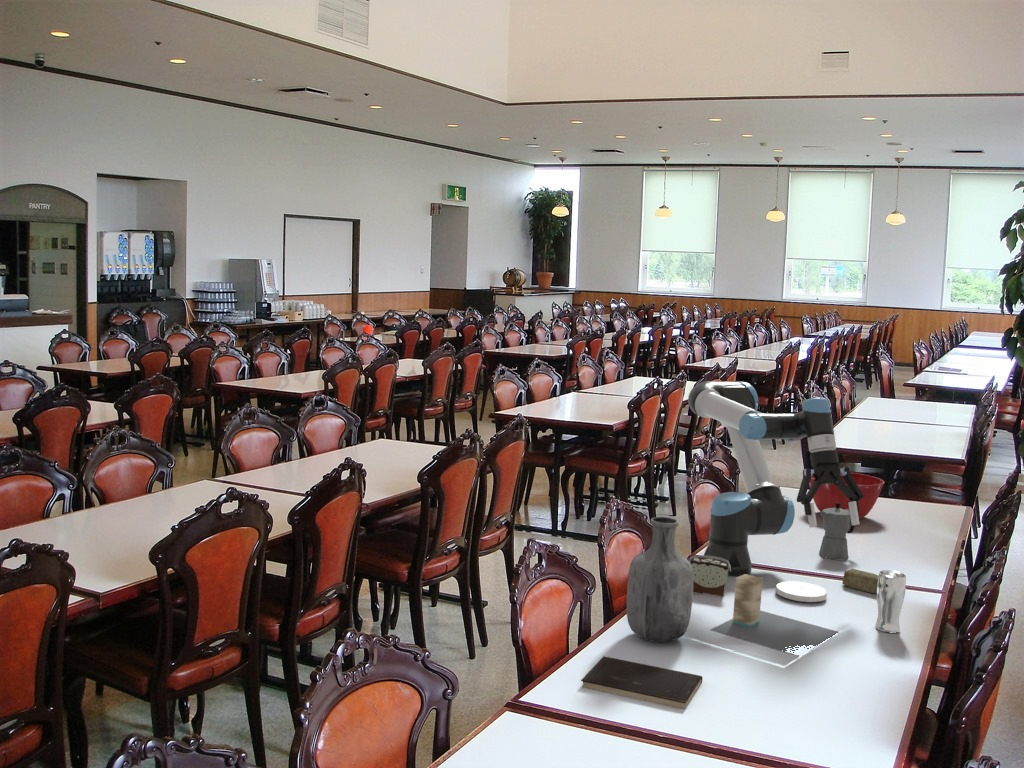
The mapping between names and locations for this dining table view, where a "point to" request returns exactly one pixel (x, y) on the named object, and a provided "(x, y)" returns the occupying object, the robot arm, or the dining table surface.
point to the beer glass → (890, 599)
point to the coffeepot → (835, 532)
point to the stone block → (861, 580)
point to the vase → (660, 587)
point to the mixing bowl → (832, 495)
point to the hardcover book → (642, 682)
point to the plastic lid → (801, 591)
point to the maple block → (747, 600)
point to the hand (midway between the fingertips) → (834, 526)
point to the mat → (777, 632)
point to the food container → (709, 574)
